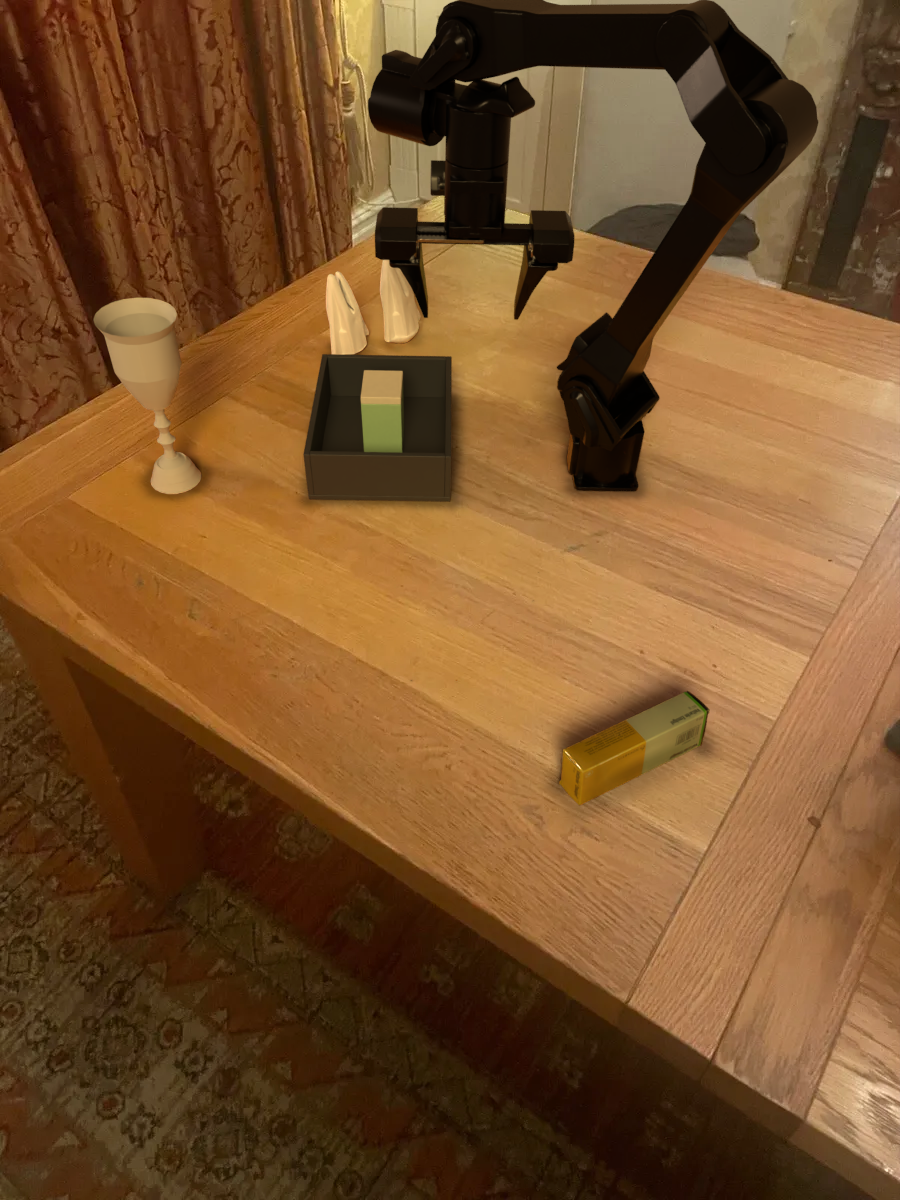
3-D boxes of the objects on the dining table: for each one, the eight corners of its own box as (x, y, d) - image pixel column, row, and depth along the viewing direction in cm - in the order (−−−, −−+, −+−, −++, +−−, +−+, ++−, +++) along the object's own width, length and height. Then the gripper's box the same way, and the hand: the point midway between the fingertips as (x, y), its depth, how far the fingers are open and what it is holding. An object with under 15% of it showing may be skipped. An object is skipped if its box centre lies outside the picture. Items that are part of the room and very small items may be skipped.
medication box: (681, 722, 72) (689, 687, 70) (704, 745, 71) (713, 709, 68) (557, 783, 68) (560, 747, 65) (578, 808, 66) (582, 773, 64)
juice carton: (404, 428, 98) (402, 370, 93) (402, 456, 95) (400, 397, 90) (367, 428, 98) (363, 369, 93) (364, 456, 95) (360, 397, 90)
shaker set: (418, 328, 114) (418, 242, 106) (428, 345, 112) (428, 258, 104) (325, 342, 112) (317, 255, 104) (333, 359, 109) (325, 271, 101)
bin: (450, 399, 104) (451, 356, 100) (450, 501, 91) (451, 456, 87) (326, 397, 103) (322, 353, 99) (308, 499, 91) (303, 454, 87)
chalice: (225, 469, 94) (193, 308, 81) (185, 507, 90) (144, 344, 77) (167, 450, 96) (126, 291, 83) (125, 487, 92) (76, 324, 79)
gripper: (572, 127, 87) (555, 281, 98) (378, 123, 87) (384, 278, 98) (583, 173, 80) (564, 334, 91) (371, 168, 79) (378, 330, 91)
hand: (470, 316), depth 93 cm, fingers open, 9 cm apart
